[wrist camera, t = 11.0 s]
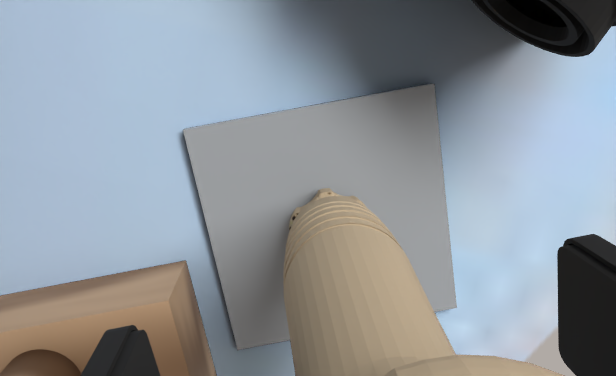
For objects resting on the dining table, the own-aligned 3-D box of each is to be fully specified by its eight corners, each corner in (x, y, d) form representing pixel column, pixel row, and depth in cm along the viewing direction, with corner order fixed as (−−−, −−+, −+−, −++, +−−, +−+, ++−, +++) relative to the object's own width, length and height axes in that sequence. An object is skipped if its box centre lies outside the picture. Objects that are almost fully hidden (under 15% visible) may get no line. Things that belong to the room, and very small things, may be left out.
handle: (250, 275, 20) (181, 814, 6) (297, 132, 19) (365, 373, 4) (356, 304, 21) (531, 853, 6) (409, 169, 19) (794, 484, 5)
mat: (184, 128, 19) (182, 130, 18) (430, 83, 19) (434, 83, 19) (238, 345, 21) (237, 350, 21) (453, 303, 22) (456, 307, 21)
